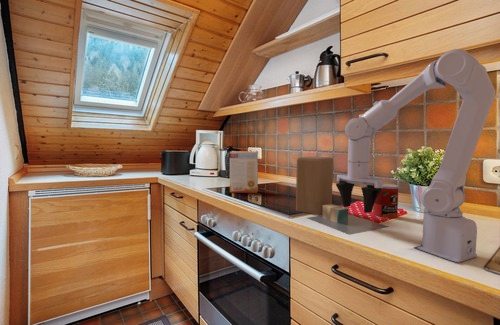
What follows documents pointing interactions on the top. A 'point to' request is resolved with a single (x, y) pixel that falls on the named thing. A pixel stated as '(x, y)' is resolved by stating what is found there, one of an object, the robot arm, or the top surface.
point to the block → (314, 184)
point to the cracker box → (243, 172)
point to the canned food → (386, 202)
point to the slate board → (350, 224)
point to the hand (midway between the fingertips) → (356, 209)
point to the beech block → (335, 213)
